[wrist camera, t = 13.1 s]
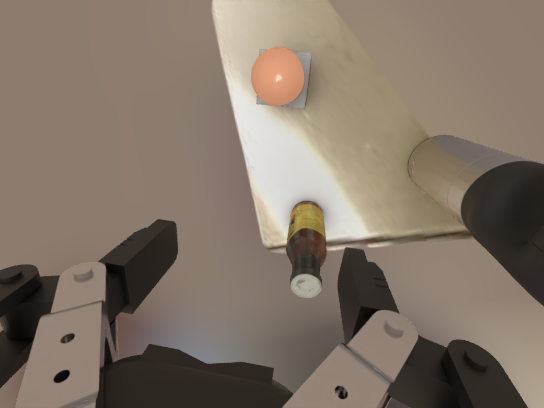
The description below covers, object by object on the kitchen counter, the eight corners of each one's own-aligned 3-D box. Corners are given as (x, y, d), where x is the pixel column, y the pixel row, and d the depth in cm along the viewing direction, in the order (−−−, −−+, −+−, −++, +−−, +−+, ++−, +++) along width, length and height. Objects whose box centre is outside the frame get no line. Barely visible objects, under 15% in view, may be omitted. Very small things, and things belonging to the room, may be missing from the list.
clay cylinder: (307, 56, 30) (306, 48, 24) (302, 105, 32) (300, 107, 26) (262, 54, 30) (252, 45, 25) (260, 101, 32) (250, 103, 27)
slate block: (311, 59, 35) (311, 52, 30) (305, 106, 38) (304, 108, 32) (267, 55, 36) (259, 48, 30) (264, 102, 38) (256, 104, 33)
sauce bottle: (289, 200, 50) (277, 262, 32) (322, 199, 49) (329, 261, 31) (292, 230, 53) (282, 303, 34) (324, 229, 51) (331, 304, 33)
